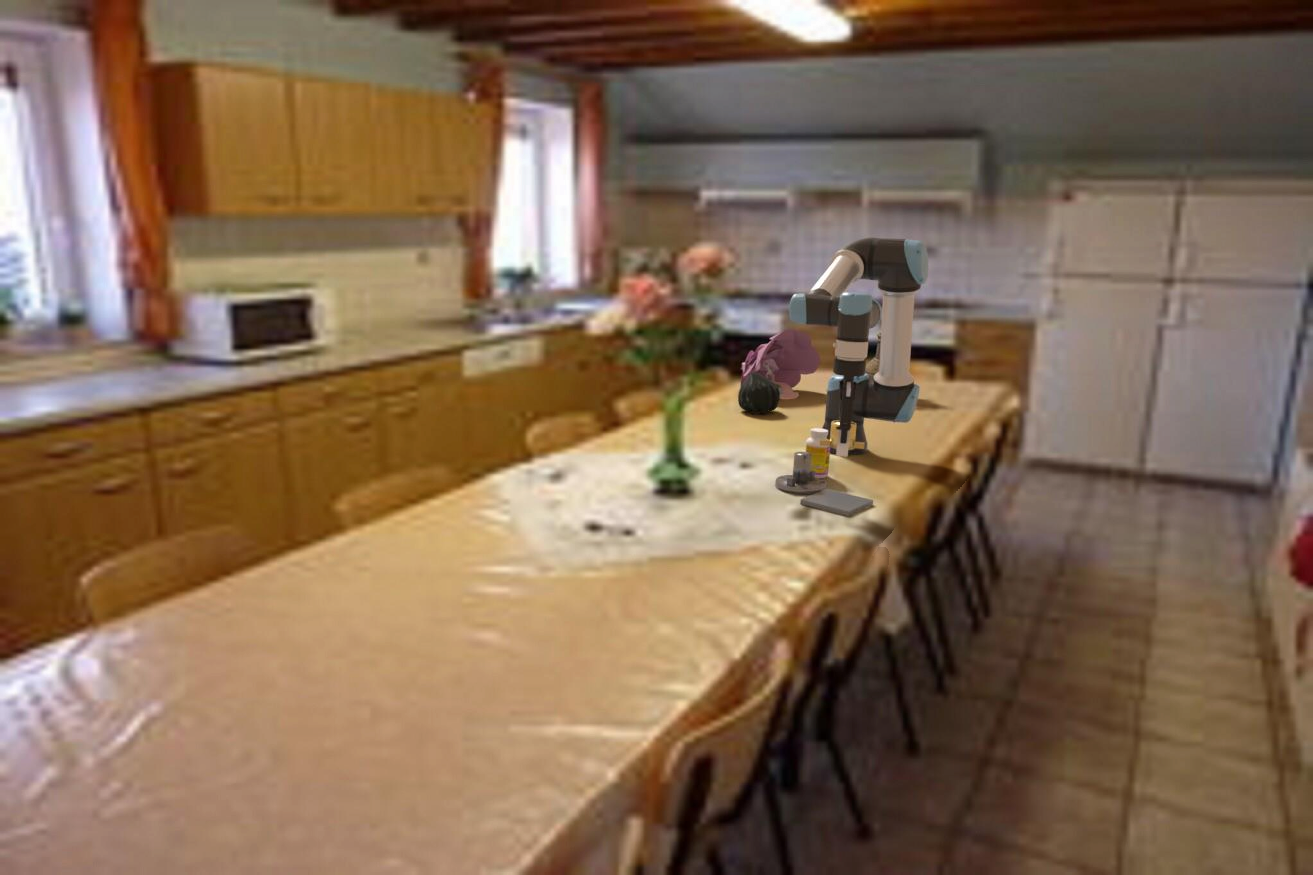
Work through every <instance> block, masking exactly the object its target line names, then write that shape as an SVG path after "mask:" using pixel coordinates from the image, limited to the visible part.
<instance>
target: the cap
mask: <svg viewBox="0 0 1313 875" xmlns="http://www.w3.org/2000/svg"><path fill="white" fill-rule="evenodd" d="M843 424H844V423H843ZM839 425H840V420H835V421H832V422H831V432H830V440H828V439H820V445H822V446H829V447H831V448H834V449H837V439H838V429H836V427H839ZM856 426H857V424H856V423H855V422H851V429H850V436H849V447H848V450H852V449H854V448H859V449H864V446H865V443H864V442H855V436H856Z"/></svg>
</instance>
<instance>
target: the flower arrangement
mask: <svg viewBox="0 0 1313 875" xmlns="http://www.w3.org/2000/svg"><path fill="white" fill-rule="evenodd" d="M769 340H770V341H769V342H768V343H764V344H763V343H762V344H760V345H759V346H757V347H756V349H755V351H753V350H750V351H749V352H748V354H747V356H746V358H745V361H744V362H742V363H741V367H740V370H742V373H741V378H740V386H739V389H740V388H741V386H742V384H743V383H744V382H745V381H746V380H747V379H748V377H749V376H750V375H751V374H752V373H753V372H754V373H758V374H761V375H763V376H764V377H766V378H768V379H770V380H771V381H772V382H774V383H775V384H776V385H777V387H778V389H779V392H780V400H793V399H797V398H798V397H799V395H800V394H799V391H794V389H793V388H795V387H796V386H797V385H799V383H800V381H801V380H802V375H804V376H805V375H812V374H814V373H816V372H817V370H818V368H819V367H820V362H821V358H820V355H819V352H818V351H817V349H816V348H815V347H813V345H812V339H811V338H810V336H809V335H808V334H807V333H805V332H802V331H796V330H794V329H793V328H791V329H785V330H783V331H781V332H779V333H778V334H776V335H773V336H772V337H769Z"/></svg>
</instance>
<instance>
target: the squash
mask: <svg viewBox="0 0 1313 875" xmlns="http://www.w3.org/2000/svg"><path fill="white" fill-rule="evenodd" d="M780 400H781V399H780V392H779V389H778V387H777V385H776V384H775V383H774V382H772V381H771V380H770V379H768V378H766V377H764V376H763V375H761V374H758V373H754V372H753V373H752V374H751V375H750V376H749V377H748V379H747V380H746V381H745V382H744V383H743V384H742V386H741V388H740V387H739V390H738V395H737V401H738V402H737V403H738V405H739V407H740V408H741V409H742V410H744V412H746V413H750V414H752V413H753V414H755V415H758V414H762V415H767V414H768V413H769V412H772V411H773V412H774V411H775V410H776V408H777V406H778V405H779V403H780Z"/></svg>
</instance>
